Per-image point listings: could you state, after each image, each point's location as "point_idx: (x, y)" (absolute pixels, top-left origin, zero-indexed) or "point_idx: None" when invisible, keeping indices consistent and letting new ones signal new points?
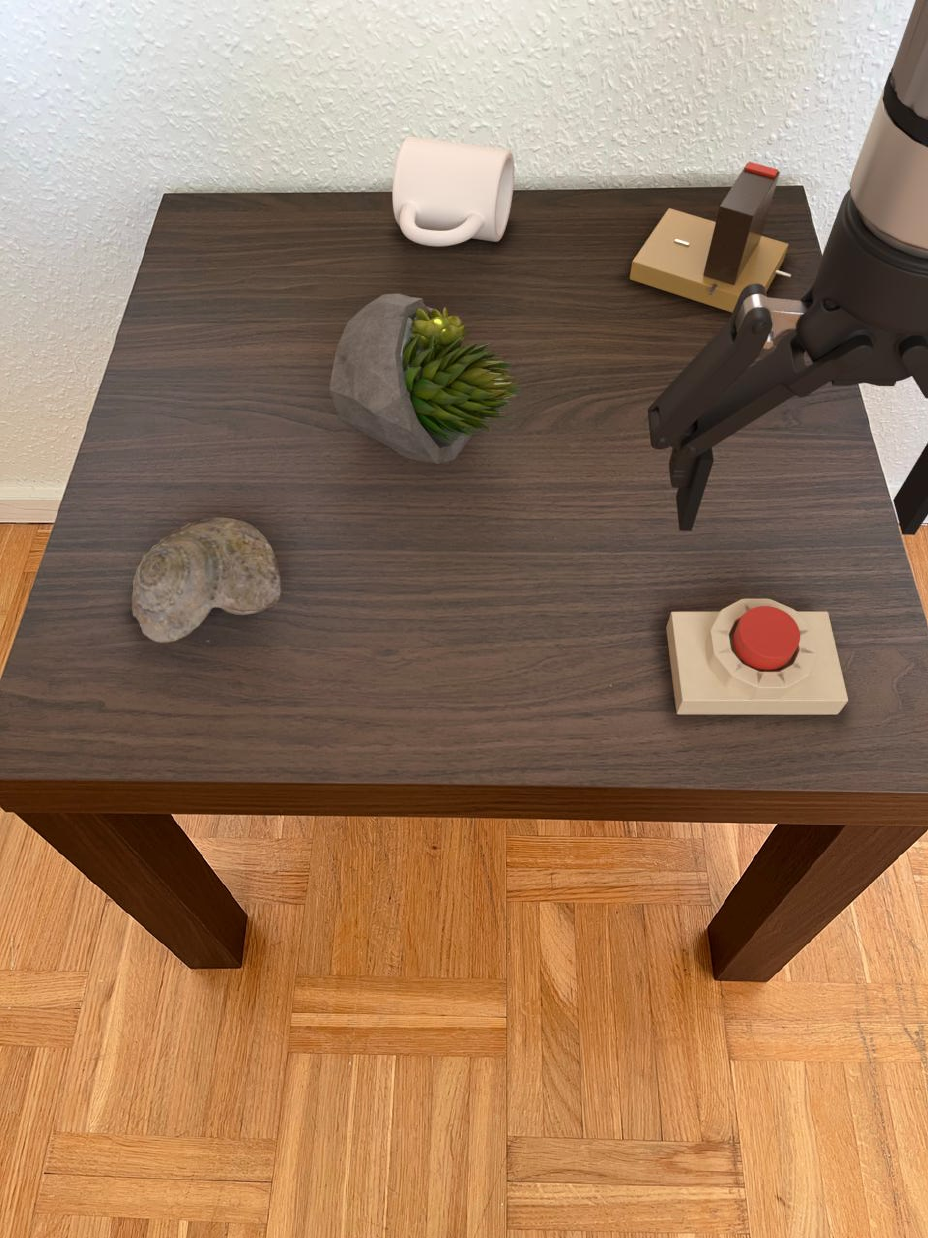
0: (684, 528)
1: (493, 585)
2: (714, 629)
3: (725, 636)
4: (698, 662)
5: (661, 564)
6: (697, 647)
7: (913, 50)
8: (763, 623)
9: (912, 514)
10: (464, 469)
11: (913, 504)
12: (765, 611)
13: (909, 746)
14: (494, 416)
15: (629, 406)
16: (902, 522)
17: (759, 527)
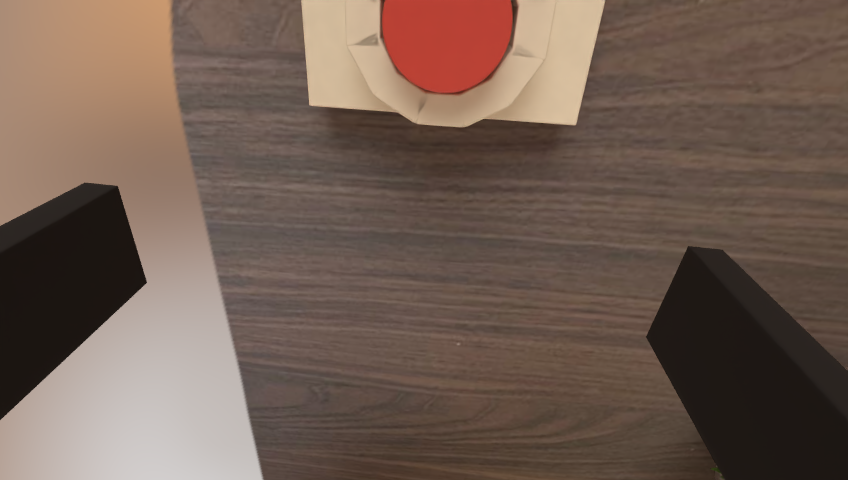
0: (716, 254)
1: (806, 208)
2: (538, 59)
3: (521, 40)
4: (563, 8)
5: (535, 221)
6: (554, 44)
7: None
8: (454, 47)
9: (59, 230)
10: None
11: (51, 261)
12: (443, 78)
13: None
14: None
15: (507, 426)
16: (113, 218)
17: (382, 264)
